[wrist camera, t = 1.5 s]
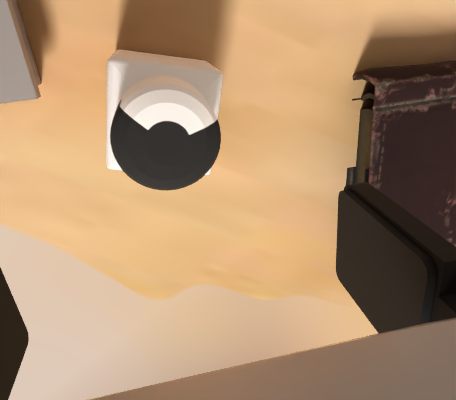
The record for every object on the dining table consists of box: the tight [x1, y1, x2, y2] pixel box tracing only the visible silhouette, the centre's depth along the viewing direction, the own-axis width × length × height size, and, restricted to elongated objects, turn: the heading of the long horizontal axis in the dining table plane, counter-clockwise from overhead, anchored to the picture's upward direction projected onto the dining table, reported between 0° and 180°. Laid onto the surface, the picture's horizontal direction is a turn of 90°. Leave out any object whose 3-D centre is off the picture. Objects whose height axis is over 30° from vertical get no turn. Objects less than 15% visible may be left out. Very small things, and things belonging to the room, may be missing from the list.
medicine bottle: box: [106, 50, 223, 190], centre depth 26 cm, size 7×7×12 cm
